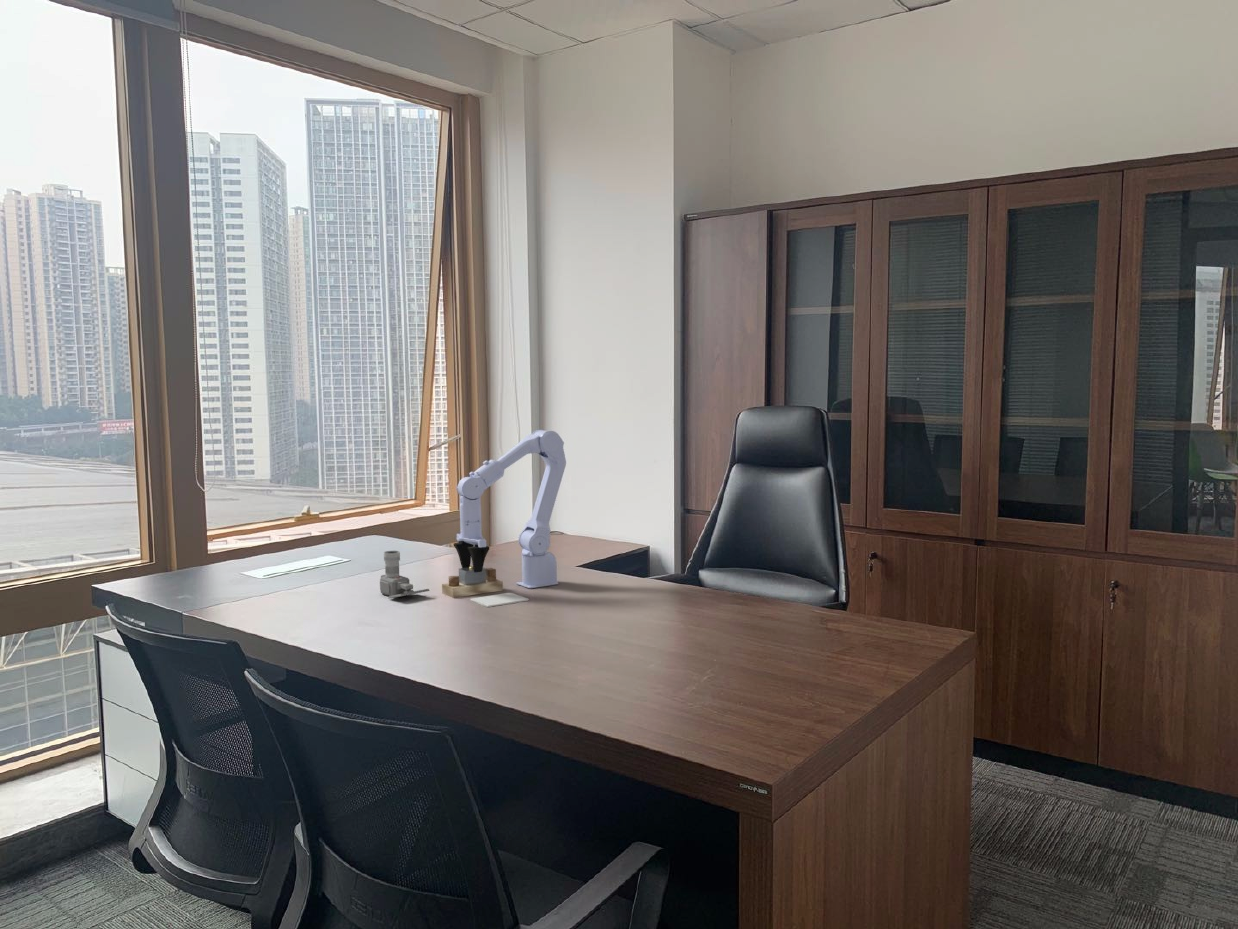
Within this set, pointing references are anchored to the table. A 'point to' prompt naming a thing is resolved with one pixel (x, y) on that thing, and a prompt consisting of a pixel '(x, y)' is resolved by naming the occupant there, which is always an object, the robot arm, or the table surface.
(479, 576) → the lever cap
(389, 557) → the camera
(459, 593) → the body
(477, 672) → the table surface
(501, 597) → the felt mat
